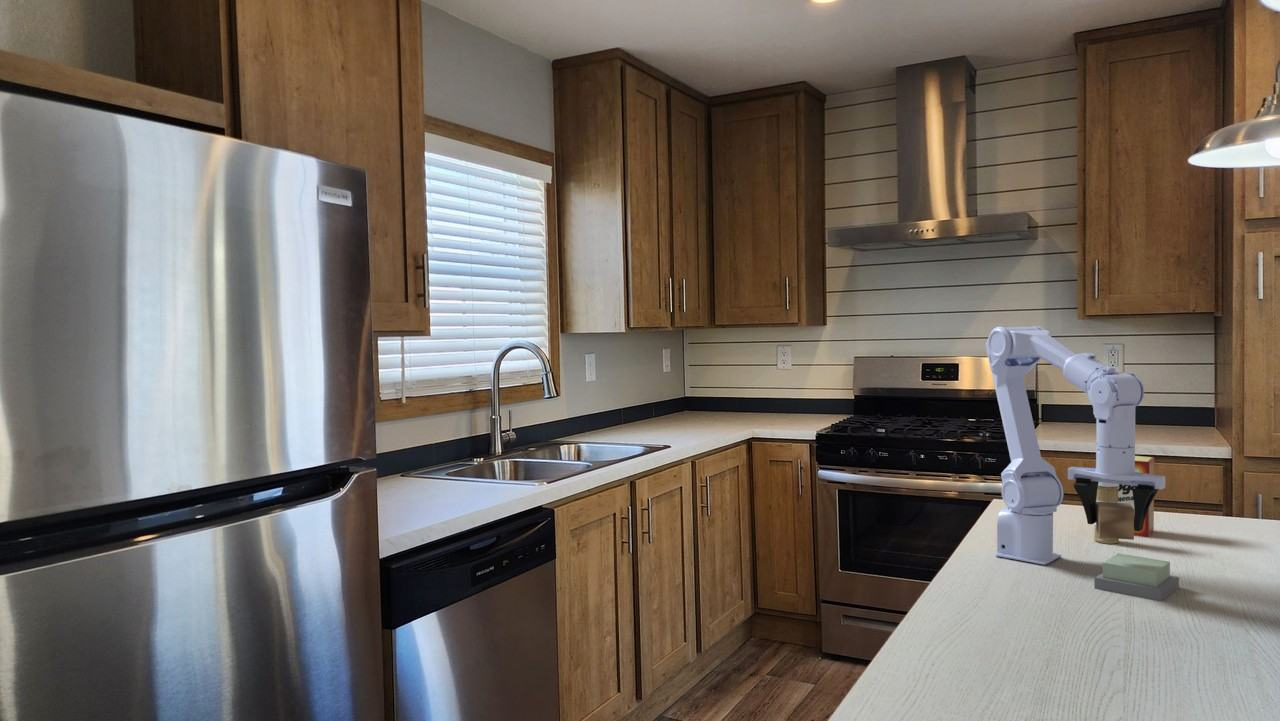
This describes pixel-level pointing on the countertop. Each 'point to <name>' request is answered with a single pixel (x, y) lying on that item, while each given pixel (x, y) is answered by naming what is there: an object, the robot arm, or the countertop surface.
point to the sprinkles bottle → (1106, 494)
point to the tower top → (1136, 569)
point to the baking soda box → (1126, 494)
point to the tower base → (1138, 587)
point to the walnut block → (1115, 520)
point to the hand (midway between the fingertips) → (1114, 526)
